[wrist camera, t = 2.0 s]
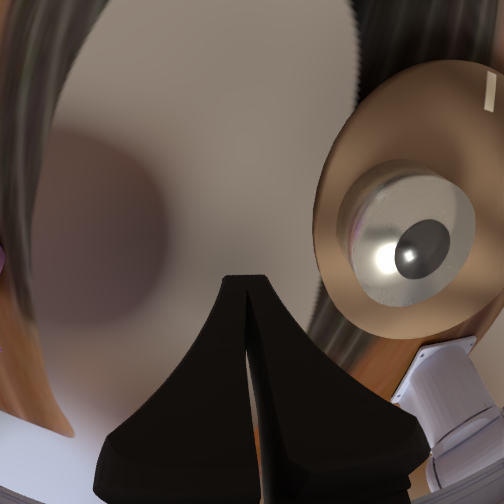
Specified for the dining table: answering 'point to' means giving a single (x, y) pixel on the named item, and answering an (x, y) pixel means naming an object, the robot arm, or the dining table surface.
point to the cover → (404, 231)
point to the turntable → (436, 159)
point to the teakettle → (1, 263)
